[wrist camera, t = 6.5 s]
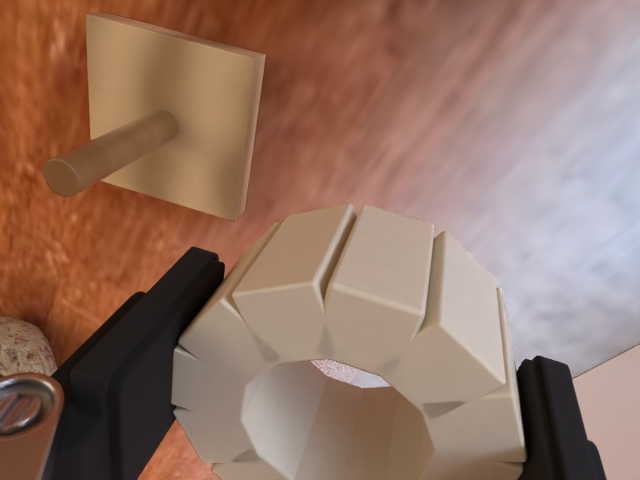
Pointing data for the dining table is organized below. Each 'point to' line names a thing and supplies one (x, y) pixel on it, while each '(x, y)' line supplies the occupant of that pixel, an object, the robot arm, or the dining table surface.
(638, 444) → the tissue box
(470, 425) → the ivory notched ring
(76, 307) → the dining table surface
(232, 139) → the stand
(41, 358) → the grey rough lump
